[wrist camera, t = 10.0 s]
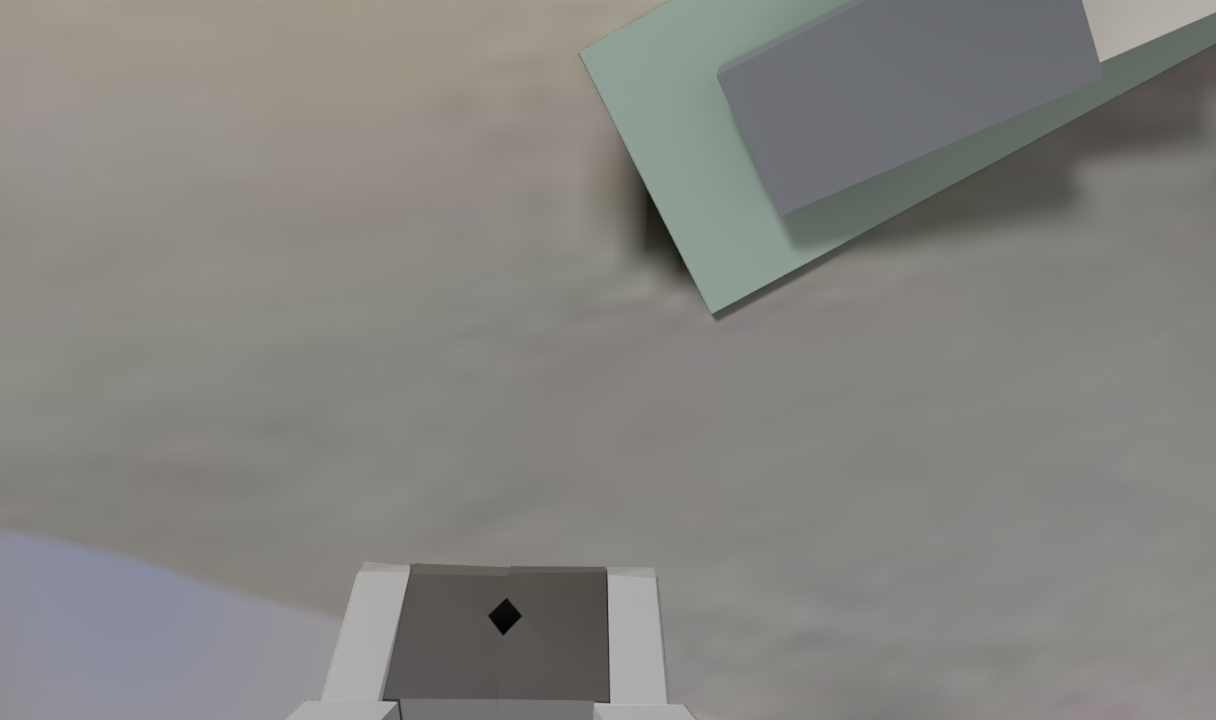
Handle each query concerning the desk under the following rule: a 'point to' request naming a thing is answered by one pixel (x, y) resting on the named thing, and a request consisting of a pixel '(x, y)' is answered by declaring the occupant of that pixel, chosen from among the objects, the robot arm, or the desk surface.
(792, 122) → the domino
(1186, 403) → the desk surface
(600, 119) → the desk surface
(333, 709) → the robot arm
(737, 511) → the desk surface
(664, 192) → the mat
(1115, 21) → the domino
